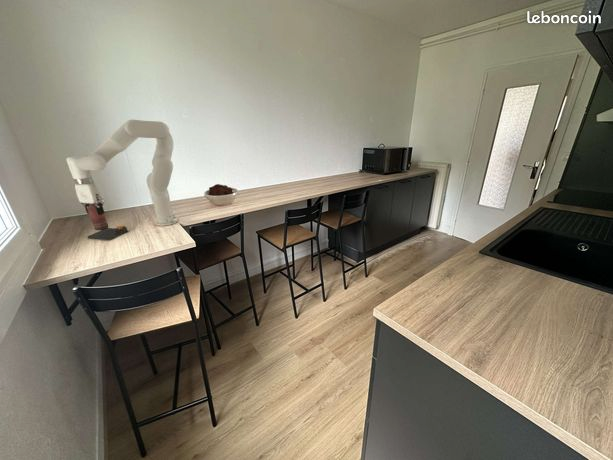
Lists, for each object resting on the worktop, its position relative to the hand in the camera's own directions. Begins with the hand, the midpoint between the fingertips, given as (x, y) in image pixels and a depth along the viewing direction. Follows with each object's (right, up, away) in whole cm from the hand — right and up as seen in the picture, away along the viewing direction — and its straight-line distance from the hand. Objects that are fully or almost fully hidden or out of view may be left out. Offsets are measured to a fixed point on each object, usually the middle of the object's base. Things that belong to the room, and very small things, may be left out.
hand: (96, 213), depth 137 cm
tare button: (+8, -8, +8) cm, 14 cm away
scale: (+2, -12, +6) cm, 14 cm away
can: (0, -8, +4) cm, 9 cm away
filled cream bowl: (+50, +12, +59) cm, 78 cm away
